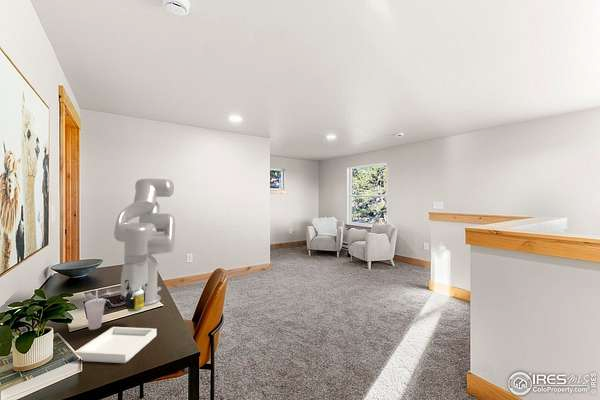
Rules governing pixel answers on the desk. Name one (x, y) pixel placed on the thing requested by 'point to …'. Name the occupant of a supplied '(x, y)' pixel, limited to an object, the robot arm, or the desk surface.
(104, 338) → the tray
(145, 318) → the desk surface
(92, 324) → the smoothie
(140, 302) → the supplement bottle
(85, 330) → the desk surface
